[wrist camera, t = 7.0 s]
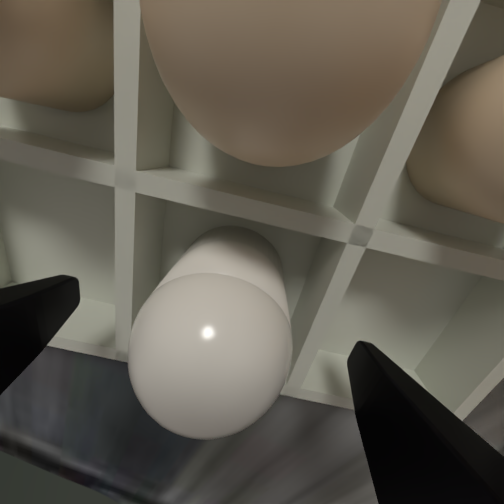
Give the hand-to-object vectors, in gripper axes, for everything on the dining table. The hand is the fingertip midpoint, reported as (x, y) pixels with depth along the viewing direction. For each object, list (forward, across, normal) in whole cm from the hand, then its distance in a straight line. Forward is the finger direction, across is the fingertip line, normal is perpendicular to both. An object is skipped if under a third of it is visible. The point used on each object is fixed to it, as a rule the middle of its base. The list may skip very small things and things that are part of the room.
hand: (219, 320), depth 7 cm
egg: (+3, 0, 0) cm, 3 cm away
